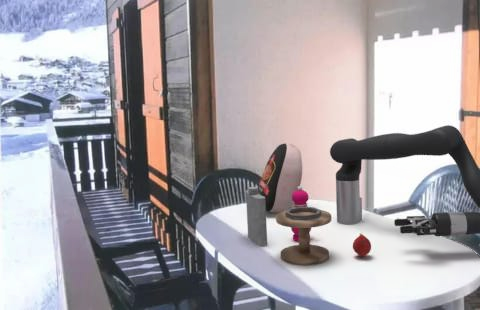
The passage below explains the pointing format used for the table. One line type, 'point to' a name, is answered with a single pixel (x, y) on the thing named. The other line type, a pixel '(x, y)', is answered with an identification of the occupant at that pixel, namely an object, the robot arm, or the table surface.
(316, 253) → the ring stand
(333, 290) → the table surface
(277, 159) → the packaged food
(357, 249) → the onion
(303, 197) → the pepper mill
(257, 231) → the hip flask
